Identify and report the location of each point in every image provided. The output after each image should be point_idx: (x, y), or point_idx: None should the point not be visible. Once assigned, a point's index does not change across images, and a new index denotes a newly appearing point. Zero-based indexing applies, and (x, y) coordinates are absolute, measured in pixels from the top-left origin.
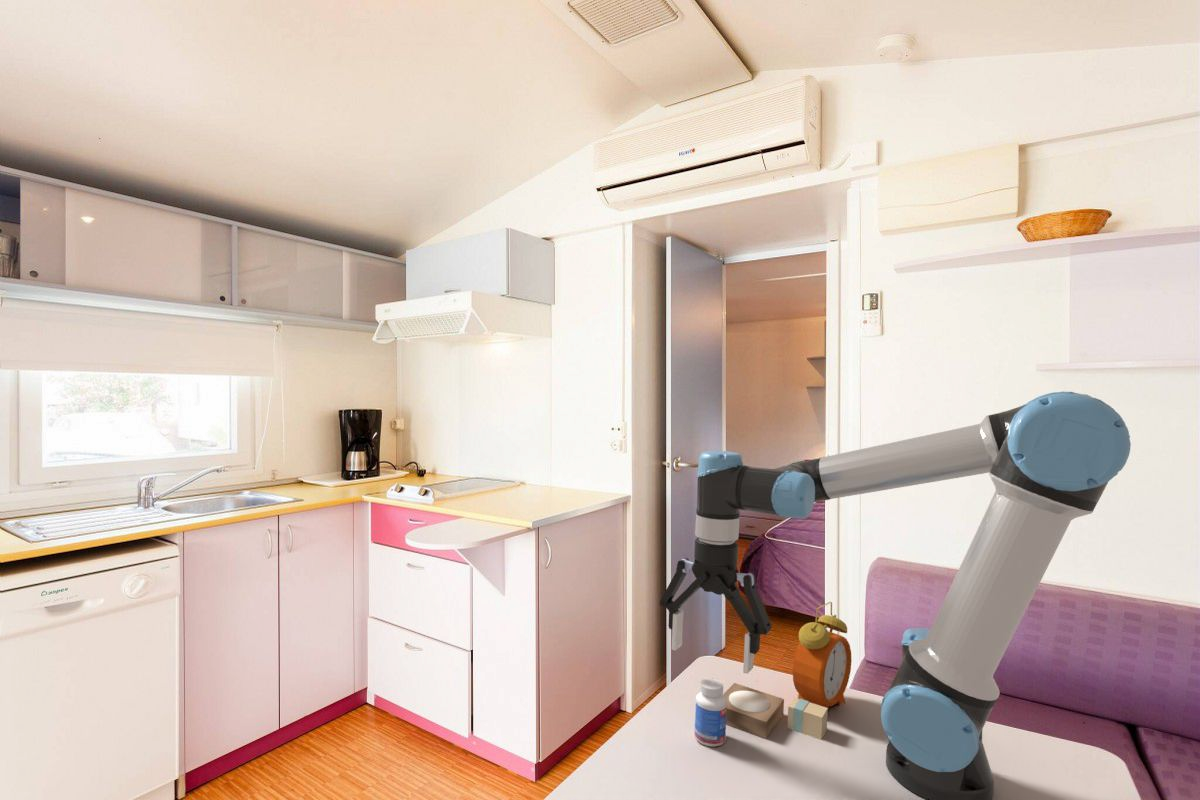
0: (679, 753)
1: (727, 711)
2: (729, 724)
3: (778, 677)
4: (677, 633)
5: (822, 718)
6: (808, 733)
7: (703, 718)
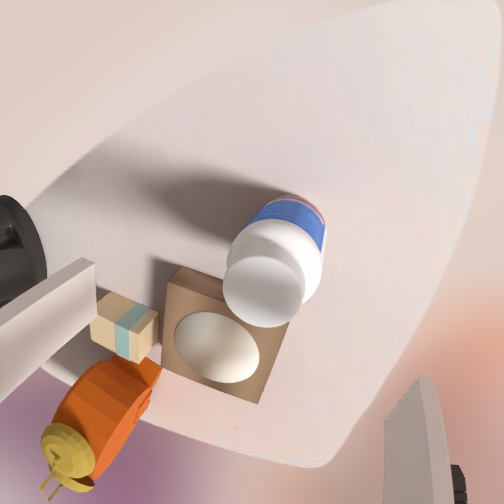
0: (348, 146)
1: None
2: None
3: (206, 436)
4: (417, 449)
5: None
6: (126, 300)
7: (293, 212)
